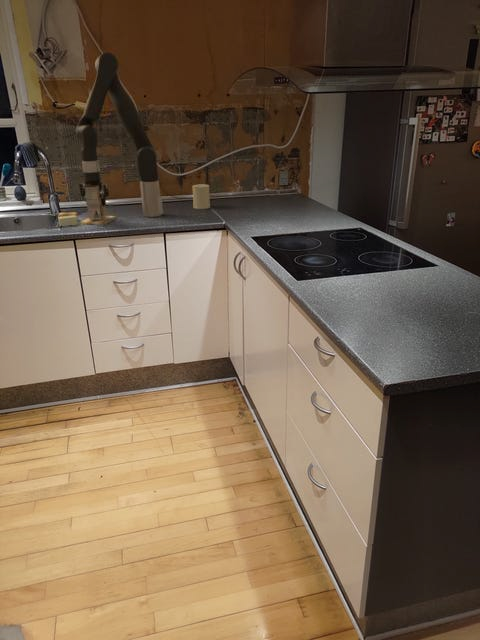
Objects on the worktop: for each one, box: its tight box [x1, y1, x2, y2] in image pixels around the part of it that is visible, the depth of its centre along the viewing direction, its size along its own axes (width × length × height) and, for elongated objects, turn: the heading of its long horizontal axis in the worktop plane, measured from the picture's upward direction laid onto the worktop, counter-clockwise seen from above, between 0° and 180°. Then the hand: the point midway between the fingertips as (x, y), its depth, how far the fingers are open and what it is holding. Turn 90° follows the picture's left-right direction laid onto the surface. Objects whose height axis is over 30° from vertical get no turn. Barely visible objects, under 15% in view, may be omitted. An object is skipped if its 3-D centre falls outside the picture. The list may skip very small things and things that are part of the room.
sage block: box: [57, 215, 79, 227], centre depth 232 cm, size 8×4×4 cm, turn 116°
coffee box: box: [84, 182, 108, 220], centre depth 235 cm, size 9×6×16 cm
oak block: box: [57, 211, 79, 221], centre depth 239 cm, size 8×4×4 cm, turn 91°
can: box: [191, 183, 211, 210], centre depth 262 cm, size 9×9×12 cm
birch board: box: [79, 215, 117, 226], centre depth 239 cm, size 12×14×1 cm
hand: (96, 205), depth 236 cm, fingers open, 7 cm apart
